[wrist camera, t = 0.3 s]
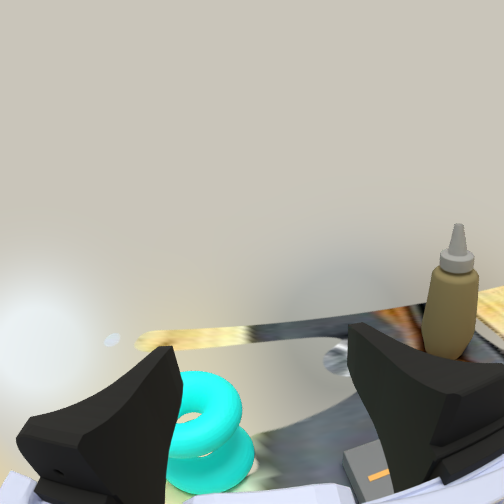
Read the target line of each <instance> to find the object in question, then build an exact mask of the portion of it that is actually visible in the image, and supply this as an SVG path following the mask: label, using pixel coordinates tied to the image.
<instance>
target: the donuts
mask: <svg viewBox="0 0 504 504" xmlns="http://www.w3.org/2000/svg"><path fill="white" fill-rule="evenodd" d="M180 374H181V377H182V380H183V384H184V385H183V395H182V403H181V407H180V411H179V415H178V418H180V417H181V416H182V415H184V414H186V413H191V412H197V413H201V414H202V415H200V416H199V417H198V418H196V419H193V420H190V421H187V422H185V423H180V424H178V423H176V426H175V430H174V433H173V437H172V441H171V445H170V450H169V456H168V464H167V473H166V479H167V480H168V481H169V482H170V483H171V484H172V485H173V486H175V487H177V488H178V489H180V490H182V491H185V492H187V493H191V494H197V495H202V494H210V493H221V492H224V491H226V490H229V489H230V488H232V487H234V486H236V485H237V484H238V483H240V482H241V481H242V480H243V479H244V478H245V477H246V476H247V474H248V473H249V471H250V469H251V467H252V465H253V461H254V455H255V452H254V446H253V442H252V440H251V438H250V437H249V435H248V434H247V433H246V432H245V430H244V429H243V428H241V427H240V426H239V423H240V420H241V417H242V403H241V399H240V396H239V394H238V392H237V391H236V389H235V388H234V387H233V385H232V384H230V383H229V382H228V381H226V380H225V379H224V378H222V377H220V376H218V375H215V374H212V373H208V372H202V371H186V372H180ZM177 420H178V419H177ZM212 451H213V452H212ZM210 452H212V453H211V454H209V455H207V456H204V457H199V456H202V455H205V454H208V453H210Z"/></svg>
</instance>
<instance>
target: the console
mask: <svg viewBox="0 0 504 504" xmlns="http://www.w3.org/2000/svg"><path fill="white" fill-rule="evenodd" d="M342 465H343V467H344V469H345V472H346V474H347V476H348V479H349V481H350V483H351V485H352V488H353V490H354V492H355V495H356V497H357V499H358V502H359V504H362V503H365V502H369V501H373V500H376V499H379V498H383V497H386V496H389V495H392V494H394V490H393V485H392V481H391V477H390V473H389V469H388V465H387V462H386V458H385V455H384V452H383V448H382V445H381V442H380V439H378V440H375V441H373V442H370V443H367V444H364V445H362V446H359V447H356V448H353V449H350V450H347V451H344V453H343V463H342Z"/></svg>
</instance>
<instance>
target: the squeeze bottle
mask: <svg viewBox="0 0 504 504" xmlns="http://www.w3.org/2000/svg"><path fill="white" fill-rule="evenodd" d="M473 265H474V255H473V253H472V252H470V251H468V250H467V247H466V239H465V232H464V226H463V225H462V224H455V225H454V229H453V233H452V238H451V242H450V245H449V249H445V250H443V251H442V252H441V253H440V265H439V266H438V267H436V268H435V269H434V270H433V272H432V277H431V282H430V288H429V293H428V298H427V303H426V307H425V312H424V316H423V320H422V325H421V327H422V335H423V340H424V345H425V350H426V352H427V353H428V354H431V355H434V356H438V357H442V358H446V359H451V360H455V359H457V358H458V357H459V356H461V354H462V353H463V351H464V350H465V348H466V347H467V345H468V344H469V342H470V340H471V339H472V337H473V334H474V331H475V323H476V313H477V301H478V285H479V284H478V283H479V275H478V273H477V272H476V271H475V270H474V269H473Z"/></svg>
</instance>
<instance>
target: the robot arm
mask: <svg viewBox="0 0 504 504" xmlns="http://www.w3.org/2000/svg"><path fill="white" fill-rule="evenodd" d="M347 366H348V369H349V372H350V375H351V378H352V381H353V384H354V386H355V388H356V390H357V392H358V394H359V396H360V398H361V400H362V402H363V404H364V405H365V407H366V409H367V411H368V413H369V415H370V417H371V419H372V421H373V423H374V426H375V428H376V431H377V434H378V436H379V439H380V442H381V445H382V448H383V452H384V455H385V458H386V462H387V465H388V469H389V473H390V477H391V481H392V485H393V490H394V494H392V495H389V496H386V497H383V498H379V499H376V500H373V501H369V502H365V503H362V504H504V365H503V364H502V363H471V362H462V361H456V360H451V359H446V358H442V357H438V356H434V355H431V354H428V353H425V352H422V351H419V350H417V349H414V348H412V347H410V346H407V345H405V344H403V343H401V342H399V341H397V340H395V339H393V338H391V337H389V336H387V335H385V334H384V333H382V332H380V331H378V330H376V329H374V328H373V327H371V326H369V325H367V324H365V323H363V322H361V323H356V324H350V325H348V356H347ZM183 385H184V384H183V380H182V377H181V374H180V371H179V367H178V364H177V360H176V357H175V353H174V350H173V346H159V347H157V348H156V349H155V350H153V351H152V352H151V353H150V354H149V355H148V356H146V357H145V358H144V359H143V360H142V361H140V362H139V363H138V364H137V365H136V366H135V367H133V368H132V369H131V370H130V371H129V372H127V373H126V374H125V375H123V376H122V377H121V378H119V379H118V380H117V381H116V382H114V383H113V384H111V385H110V386H108V387H107V388H105V389H103V390H102V391H100V392H98V393H97V394H95V395H93V396H91V397H89V398H87V399H85V400H83V401H81V402H78V403H77V404H74V405H71V406H69V407H66V408H63V409H60V410H57V411H54V412H50V413H46V414H42V415H37V416H33V417H30V418H29V419H28V421H27V422H26V424H25V425H24V427H23V428H22V430H21V431H20V433H19V434H18V436H17V437H16V443H17V446H18V448H19V450H20V452H21V453H22V455H23V456H24V458H25V459H26V460H27V461H28V463H29V464H30V465H31V466H32V467H33V469H34V470H35V471H36V472H37V473H38V474H39V476H40V479H39V481H38V483H37V482H36V481H34V480H33V479H31V478H29V477H27V476H24V475H22V474H19V473H16V472H14V471H10V473H9V474H8V476H7V478H6V479H5V481H4V483H3V484H2V486H1V488H0V504H165V485H166V473H167V464H168V456H169V450H170V445H171V441H172V437H173V433H174V430H175V426H176V422H177V419H178V415H179V411H180V407H181V403H182V395H183ZM183 504H356V503H355V500H354V497H353V494H352V491H351V489H350V487H346V486H342V485H338V484H335V483H325V484H311V485H305V486H299V487H291V488H284V489H275V490H264V491H252V492H232V493H210V494H202V495H196V496H194V497H192V498H190V499H188V500H187V501H185V502H183Z"/></svg>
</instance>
